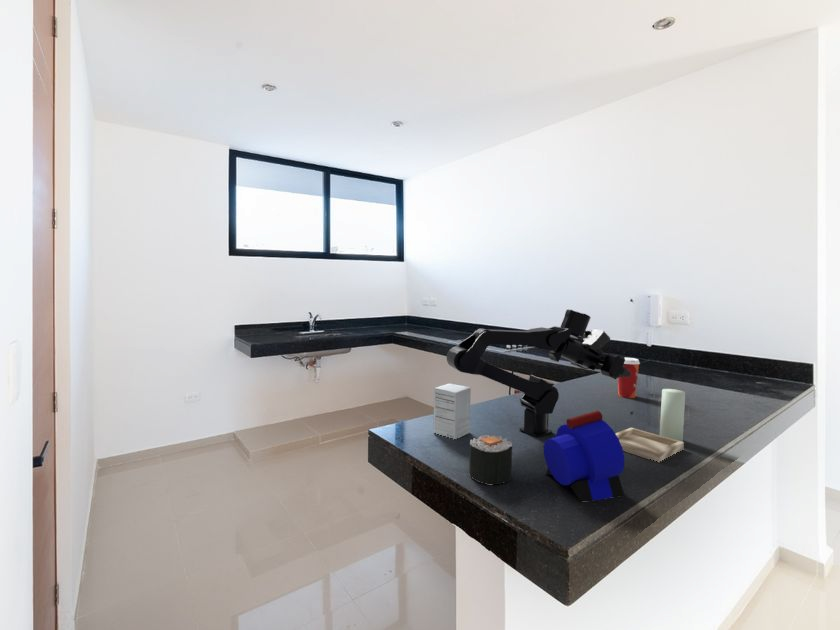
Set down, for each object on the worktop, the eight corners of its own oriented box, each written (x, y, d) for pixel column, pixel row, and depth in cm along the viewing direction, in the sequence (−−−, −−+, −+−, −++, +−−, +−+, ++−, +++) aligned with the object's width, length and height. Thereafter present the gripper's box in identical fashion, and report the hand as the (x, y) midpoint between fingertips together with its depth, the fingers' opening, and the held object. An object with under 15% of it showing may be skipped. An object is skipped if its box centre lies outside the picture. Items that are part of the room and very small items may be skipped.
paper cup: (642, 399, 150) (644, 360, 149) (621, 398, 150) (622, 360, 149) (631, 393, 158) (633, 357, 157) (611, 393, 158) (613, 356, 157)
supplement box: (448, 426, 117) (449, 382, 116) (470, 433, 112) (471, 387, 112) (432, 433, 111) (433, 387, 111) (455, 440, 107) (456, 392, 106)
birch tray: (658, 462, 95) (659, 453, 95) (604, 444, 105) (605, 436, 105) (683, 450, 102) (684, 442, 102) (630, 434, 113) (631, 427, 113)
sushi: (518, 478, 86) (519, 440, 85) (489, 489, 81) (490, 449, 80) (490, 464, 92) (491, 429, 92) (461, 473, 88) (462, 436, 87)
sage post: (677, 445, 106) (680, 394, 105) (655, 438, 110) (658, 390, 109) (686, 440, 109) (688, 391, 108) (664, 435, 113) (667, 387, 112)
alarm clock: (627, 496, 79) (631, 419, 78) (572, 505, 76) (575, 424, 75) (585, 469, 91) (587, 401, 90) (535, 475, 87) (538, 405, 86)
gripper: (608, 328, 106) (654, 350, 110) (567, 321, 125) (607, 341, 128) (591, 368, 106) (638, 389, 110) (552, 356, 124) (594, 374, 128)
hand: (618, 371), depth 119 cm, fingers open, 9 cm apart
